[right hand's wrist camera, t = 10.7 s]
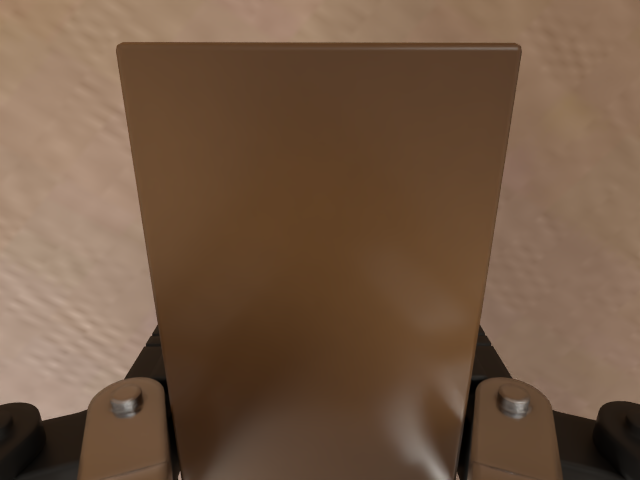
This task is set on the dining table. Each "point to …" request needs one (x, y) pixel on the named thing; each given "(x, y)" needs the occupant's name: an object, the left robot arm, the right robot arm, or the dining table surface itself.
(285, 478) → the beam
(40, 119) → the dining table surface
